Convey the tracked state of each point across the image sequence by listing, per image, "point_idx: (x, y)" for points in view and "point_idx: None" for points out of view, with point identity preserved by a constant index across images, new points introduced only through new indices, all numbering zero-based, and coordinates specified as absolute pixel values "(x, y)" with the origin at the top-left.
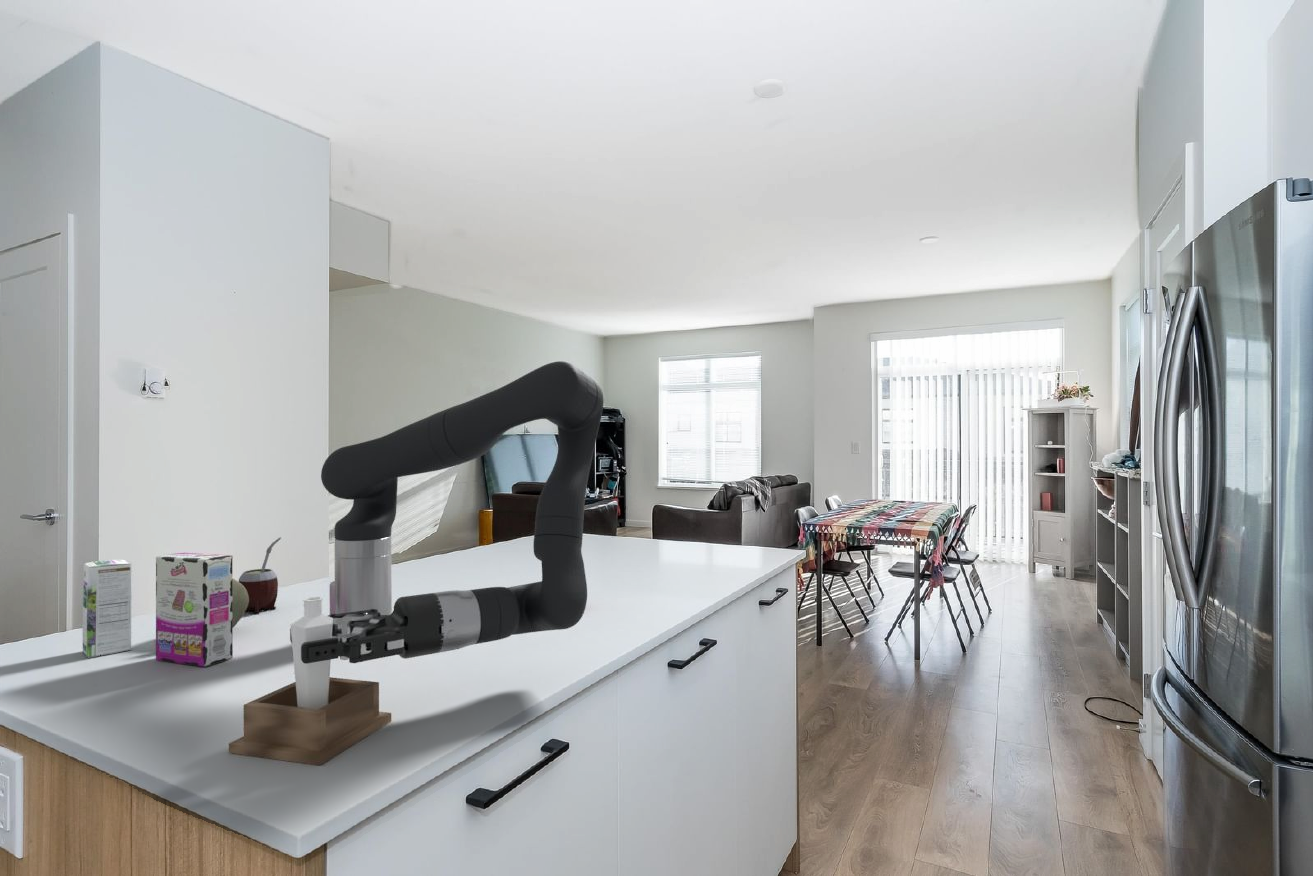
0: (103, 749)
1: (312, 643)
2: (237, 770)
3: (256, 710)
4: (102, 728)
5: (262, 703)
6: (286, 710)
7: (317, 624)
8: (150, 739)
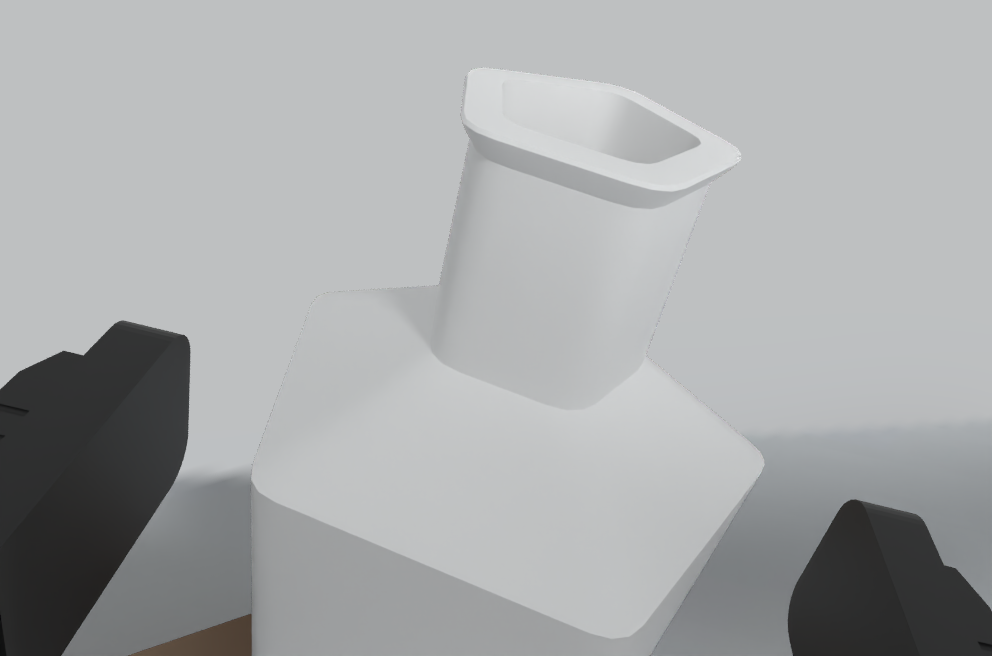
0: (754, 439)
1: (89, 363)
2: None
3: None
4: (940, 476)
5: None
6: (223, 626)
7: (313, 360)
8: (777, 521)
